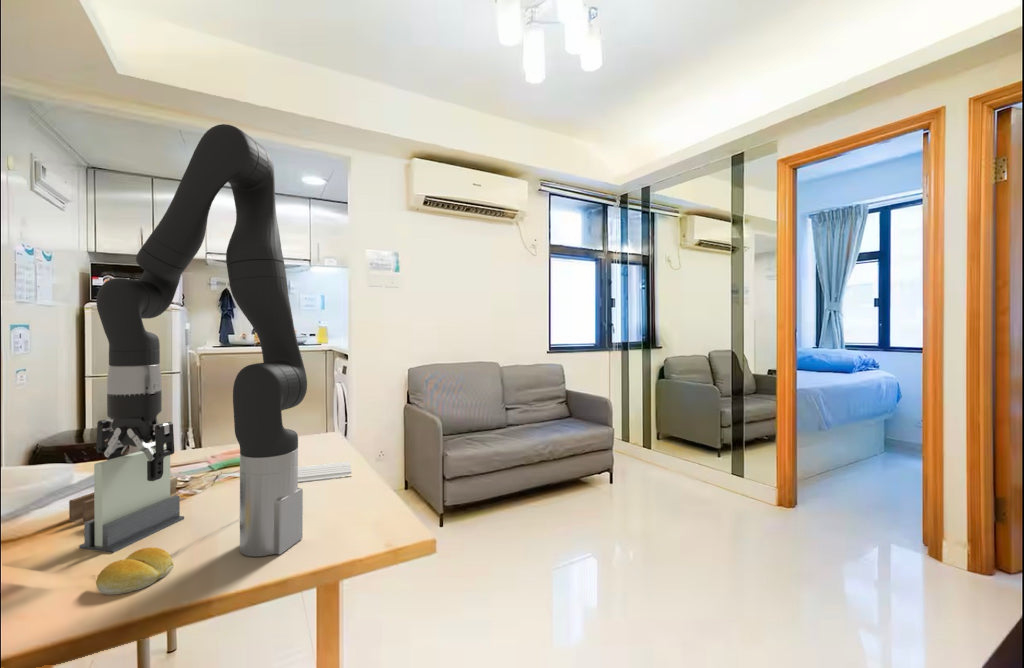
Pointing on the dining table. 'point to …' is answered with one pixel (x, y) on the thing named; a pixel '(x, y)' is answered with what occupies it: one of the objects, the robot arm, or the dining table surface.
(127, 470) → the sage panel
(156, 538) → the dining table surface
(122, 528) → the grey stand
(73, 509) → the walnut rack
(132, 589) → the bread roll
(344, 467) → the baseboard molding
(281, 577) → the dining table surface
